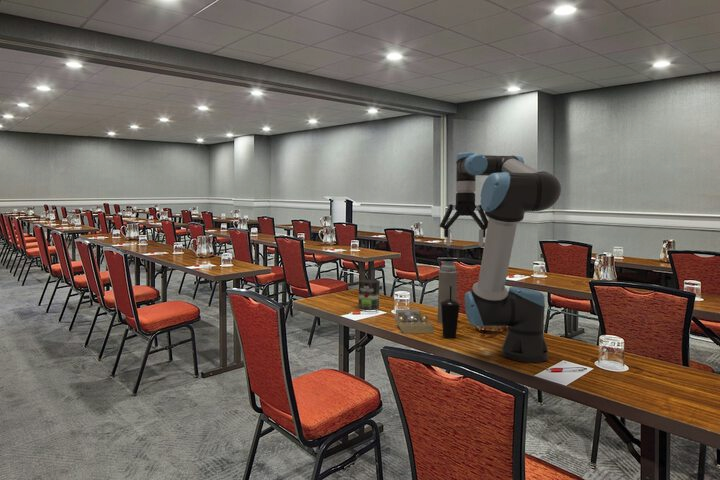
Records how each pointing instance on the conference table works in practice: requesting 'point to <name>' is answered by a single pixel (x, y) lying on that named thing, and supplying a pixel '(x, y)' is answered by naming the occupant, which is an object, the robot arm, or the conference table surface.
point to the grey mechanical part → (409, 315)
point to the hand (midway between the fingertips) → (464, 245)
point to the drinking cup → (450, 316)
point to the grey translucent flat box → (415, 326)
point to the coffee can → (369, 294)
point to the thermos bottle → (446, 283)
